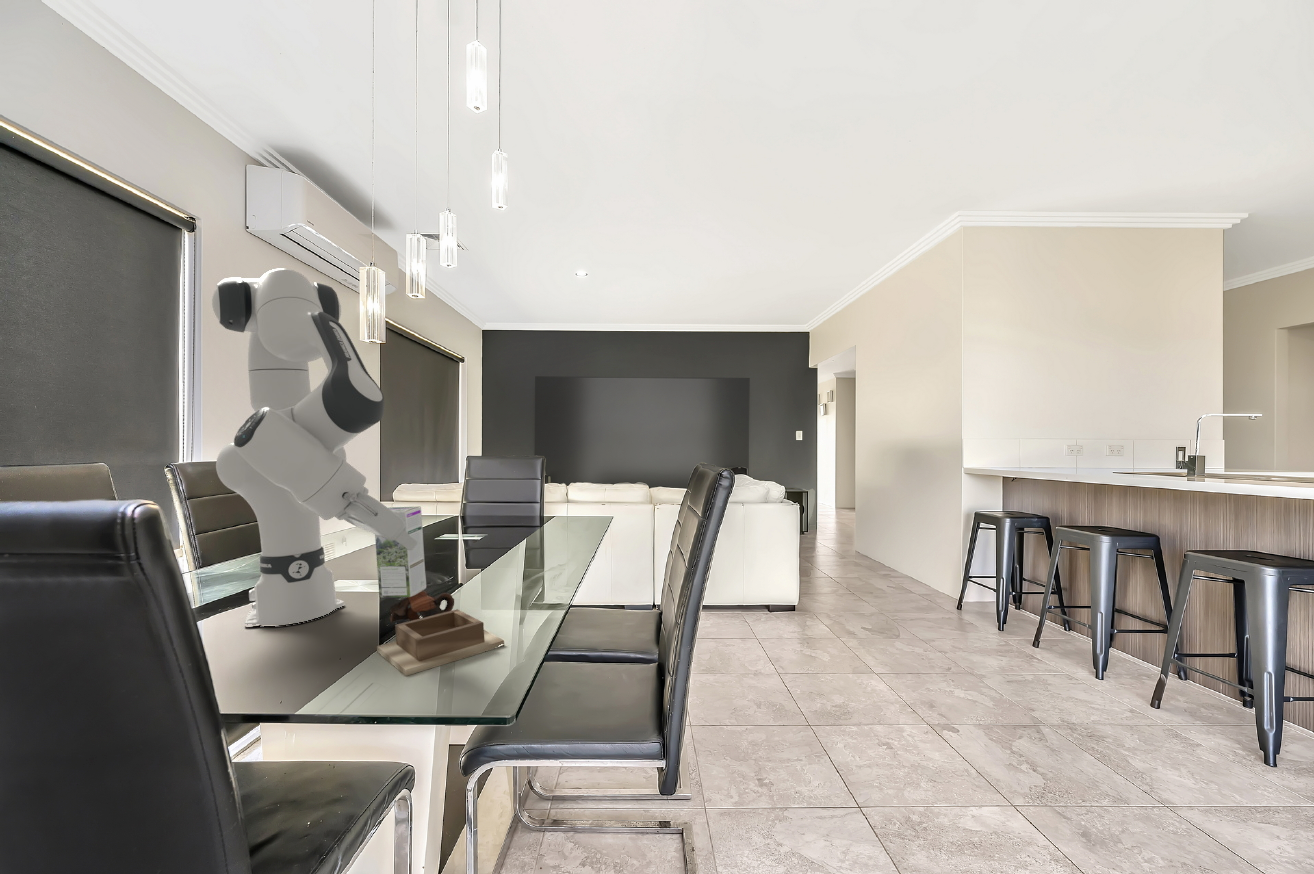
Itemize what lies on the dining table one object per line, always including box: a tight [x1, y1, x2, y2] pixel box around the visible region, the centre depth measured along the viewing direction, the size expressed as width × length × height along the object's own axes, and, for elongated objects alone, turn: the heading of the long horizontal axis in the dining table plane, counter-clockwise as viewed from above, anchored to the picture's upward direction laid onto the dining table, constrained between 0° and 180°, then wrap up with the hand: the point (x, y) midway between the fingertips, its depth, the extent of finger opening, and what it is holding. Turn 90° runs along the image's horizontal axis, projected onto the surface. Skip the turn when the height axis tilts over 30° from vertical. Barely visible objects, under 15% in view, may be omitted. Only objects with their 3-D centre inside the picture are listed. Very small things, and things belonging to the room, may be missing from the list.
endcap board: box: [376, 608, 505, 677], centre depth 108 cm, size 15×17×4 cm
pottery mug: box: [388, 590, 455, 623], centre depth 121 cm, size 12×10×8 cm
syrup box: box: [374, 505, 427, 598], centre depth 104 cm, size 6×6×14 cm
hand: (404, 542), depth 104 cm, fingers closed on syrup box, 8 cm apart
